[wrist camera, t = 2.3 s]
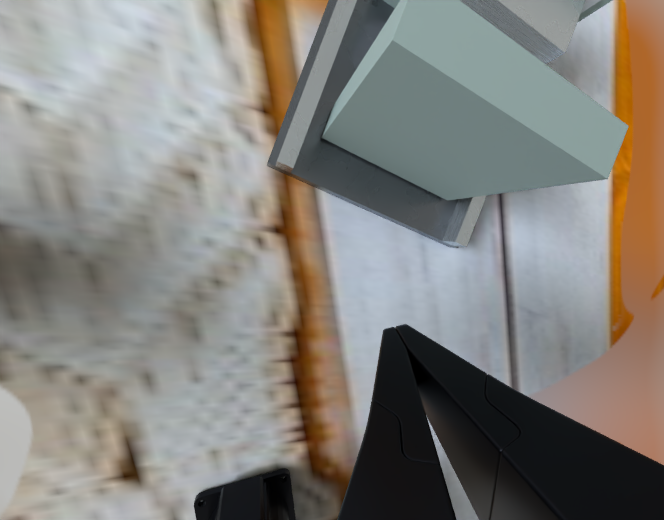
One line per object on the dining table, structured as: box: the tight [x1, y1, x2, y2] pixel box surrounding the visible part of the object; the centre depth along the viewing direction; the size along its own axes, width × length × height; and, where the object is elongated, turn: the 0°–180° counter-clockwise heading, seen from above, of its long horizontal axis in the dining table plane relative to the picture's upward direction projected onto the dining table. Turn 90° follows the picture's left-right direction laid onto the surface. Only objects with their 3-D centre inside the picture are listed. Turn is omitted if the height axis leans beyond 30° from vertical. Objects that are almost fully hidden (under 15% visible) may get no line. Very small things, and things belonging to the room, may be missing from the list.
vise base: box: [267, 0, 487, 248], centre depth 20 cm, size 16×15×2 cm
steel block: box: [460, 0, 586, 64], centre depth 16 cm, size 4×6×8 cm, turn 68°
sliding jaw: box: [322, 0, 629, 201], centre depth 15 cm, size 2×10×10 cm, turn 68°
